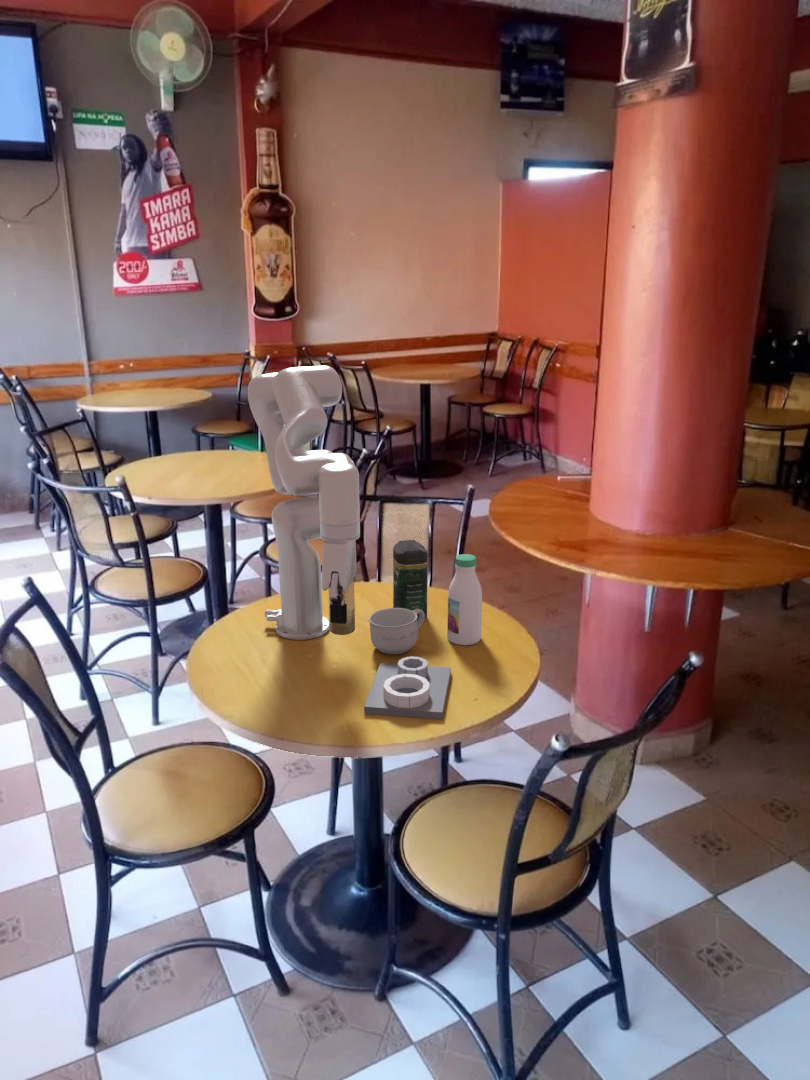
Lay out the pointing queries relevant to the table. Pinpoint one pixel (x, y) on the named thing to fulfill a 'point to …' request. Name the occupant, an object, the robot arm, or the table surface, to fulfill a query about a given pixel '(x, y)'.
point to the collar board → (409, 689)
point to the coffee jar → (410, 576)
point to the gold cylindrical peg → (350, 601)
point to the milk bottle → (465, 603)
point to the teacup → (395, 629)
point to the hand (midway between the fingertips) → (341, 615)
